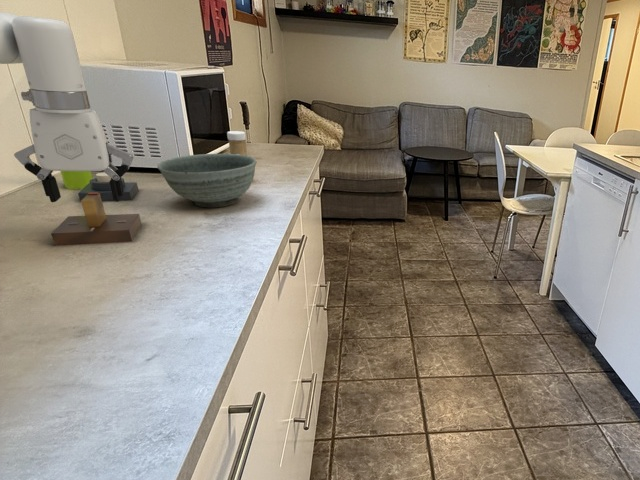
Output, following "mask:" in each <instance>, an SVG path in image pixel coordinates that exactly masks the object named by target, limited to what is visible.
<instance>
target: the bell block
mask: <svg viewBox="0 0 640 480" xmlns="http://www.w3.org/2000/svg"><path fill="white" fill-rule="evenodd" d="M121 181H122V185H123V190H124V196H122V198H121V199H120V201H119V202H123V201H124V202H125V201H128V202H129V201H130V202H131V201H133V199H134V198H135V197H136V195H137V194H138V192H139V191H140V190H139V187H138V182H137V181H136V182H134V181H133V182H132V181H131V182H125V179H124V177H121ZM89 182H90V183H89V184H87V185H86V186H85V187H84V188H83V189H80V191H78V193H77V194H78V195H77V196H78V197H79V201H80V202H81V200H82V199H83V198H84V197H86V196H87V195H88V193H90V192H98V193H100V196H101V200H102V202H115V201H114V199H113V195H112V191H111V187H110V182H98V181H97V177H94V178H93V179H91V180H90V181H89Z"/></svg>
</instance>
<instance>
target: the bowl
mask: <svg viewBox="0 0 640 480" xmlns="http://www.w3.org/2000/svg"><path fill="white" fill-rule="evenodd" d="M256 165H257V160H256V158H254V157H252V156H244V155H236V154H230V153H202V154H191V155H182V156H177V157H173V158H169V159H166V160H164V161H161V162H160V163H158V164H157V169H158V170H159V171H160V173H161V176H162V177H163V178H164V179H165V182H166V183H167V184H168V186H169V187H170V188H171V190H173V192H175V193H176V194H177V195H178V196H180V197H181V198H184V199H185V200H188V201H192V202H194V204H195V205H196V206H198V207H202V208H220V207H227V206H230V205H233V204H235V203H237V201H238V198H239V197H241V196H243V195H244V194H245V193H246V192H247V191H248V190H249V189H250V187H251V186H252V184H253V180H254V177H255V172H256V171H255V170H256Z"/></svg>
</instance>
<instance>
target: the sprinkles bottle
mask: <svg viewBox="0 0 640 480" xmlns="http://www.w3.org/2000/svg"><path fill="white" fill-rule="evenodd" d="M226 136H227V137H226V138H227V141H228V145H229V154H236V155H244V156H248V148H247V135H246V132H245V131H242V130H229V131H227V132H226Z"/></svg>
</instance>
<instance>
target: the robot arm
mask: <svg viewBox="0 0 640 480" xmlns="http://www.w3.org/2000/svg"><path fill="white" fill-rule="evenodd" d="M77 49H78V48H77V46H76V41H75V37H74V34H73V30H72V28H71V26H70V25H69V24H67V23H66V22H65V21H62V20H60V19H56V18H47V17H40V16H39V17H38V16H30V15H29V16H27V15H17V14H13V13H8V12H4V11H0V65H10V64H11V65H13V64H15V65H16V64H22V66H23V69H24V73H25V76H26V79H27V83H28V87H29V88H28V90H27V91H21V92H20V96H21V99H22V101H26V102H27V101H28V102H31V104H32V106H33V107H34V108H30V109H29V123H30V131H31V136H32V141H33V144H31V145H29V146H27V147H24V148H22V149H20V150H18V151H16V152H15V153H14V154H13V156H14V158H15V159H16V160H17V161H18V162H19V163H20V164H21V165H23V167H24V169H25V170H26V171H28V172H30V173H31V174H33V175H34V176H35V177H36V178H37V179H38V180H39V181H41V184H42V187H43V191H44V194H45V196H46V197H49V201H50V203H56V202H57V201H58V200H60V199H61V198H62V196H61V192H60V188H59V185H58V182H57V178H56V177H55V176H54V175H53V174H52V173H53V172H61V171H91V172H102V171H103V172H102V173H104V172H105V173H106V174H107V175H108V176H110V177H111V180H110V187H111V191H112V195H113V199H114V201H113V202H116V203H117V202H118V203H119V202H121V201H120V199H121V198H122V196H124V190H123V185H122V181H121V178H123V176H124V175H125V174H126V173H127V172H128V171H129V169H130V167H131V165H132V163H133V160H134V155H133V154H132V153H129V152H127V151H125V150H123V149H120V148H118V147H117V146H113V145H111V144H109V141H108V138H107V136H106V133H105V130H104V127H103V125H102V122H101V120H100V117H99V115H98V113H97V112H96V110H95V109H92V108H91V104H90V99H89V96H88V95H89V94H88V92H87V88H86V83H85V79H84V75H83V70H82V67H81V63H80V58H79V54H78V50H77ZM34 154H35V156H36V159H37V163H38V164H39V165H38V164H37V163H36V162H34V161H33V160H32V159H31V157H30V156H32V155H34ZM112 156H114V157H117V158H118V159H121V161H122V162H121V165H120V166H119V167H118V168H117V167H116V166H115V165H114V164H113V157H112Z"/></svg>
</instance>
